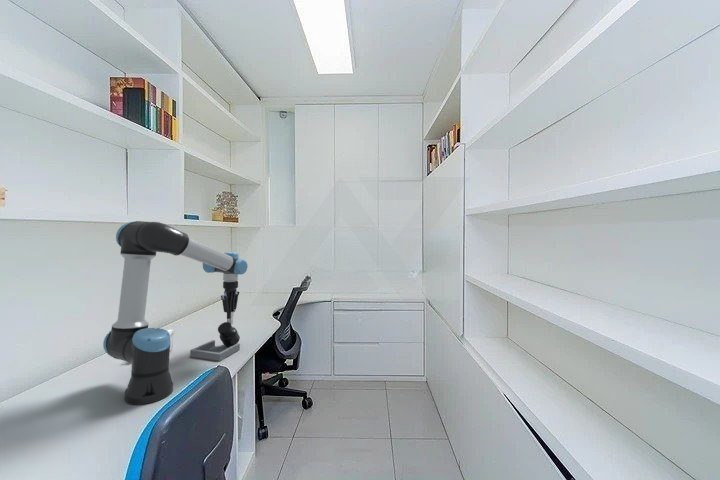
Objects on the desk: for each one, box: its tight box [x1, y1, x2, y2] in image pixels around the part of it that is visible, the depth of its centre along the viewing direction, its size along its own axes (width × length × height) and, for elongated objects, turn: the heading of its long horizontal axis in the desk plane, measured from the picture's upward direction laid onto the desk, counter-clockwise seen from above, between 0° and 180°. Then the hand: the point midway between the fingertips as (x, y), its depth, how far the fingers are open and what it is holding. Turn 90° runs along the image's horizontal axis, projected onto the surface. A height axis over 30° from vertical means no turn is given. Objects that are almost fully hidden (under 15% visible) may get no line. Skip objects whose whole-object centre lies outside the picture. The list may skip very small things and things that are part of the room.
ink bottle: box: [217, 321, 241, 348], centre depth 166 cm, size 10×9×12 cm
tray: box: [189, 339, 241, 363], centre depth 157 cm, size 16×16×4 cm
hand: (229, 324), depth 167 cm, fingers closed
